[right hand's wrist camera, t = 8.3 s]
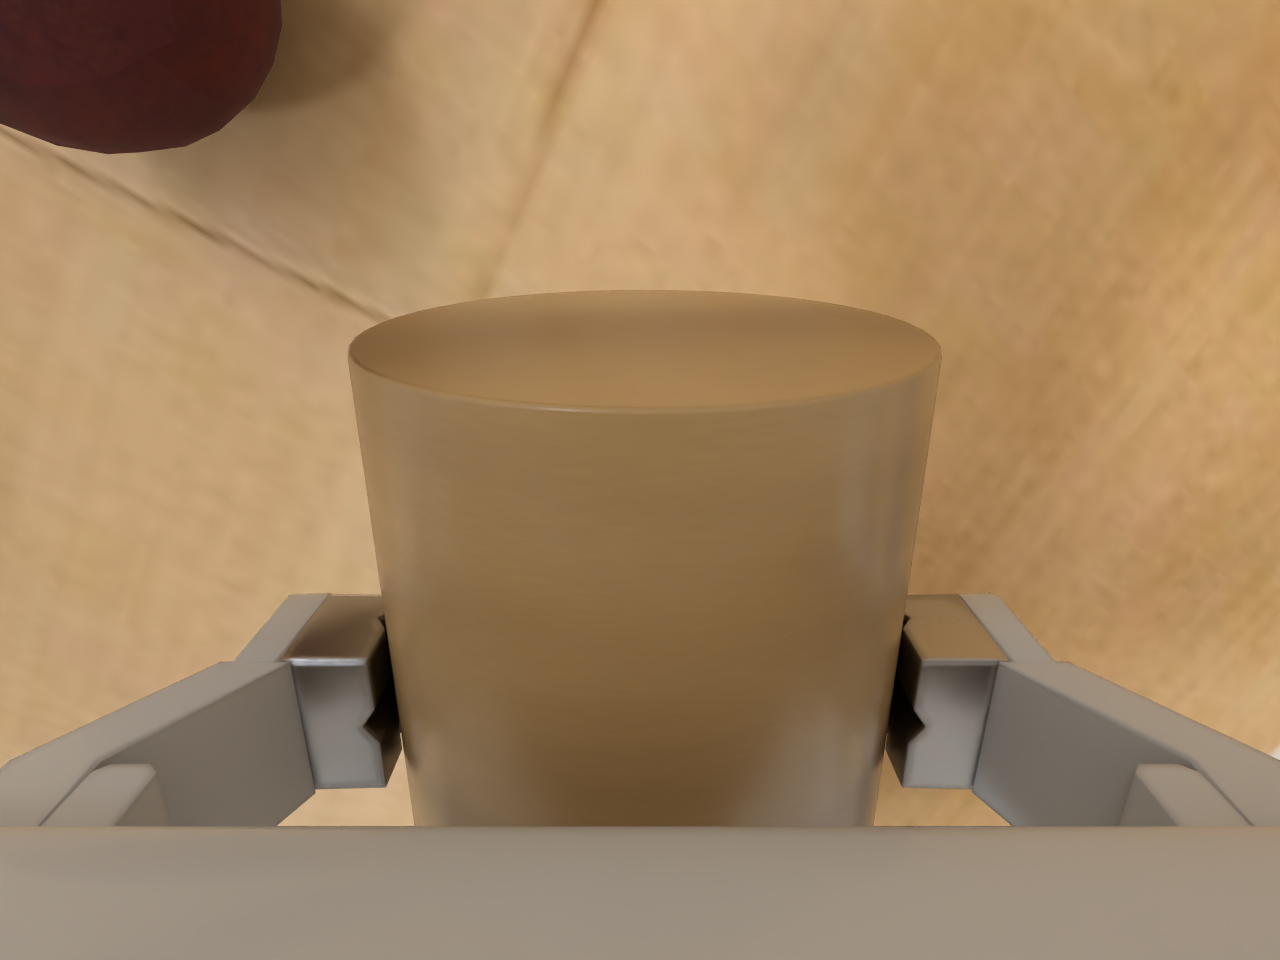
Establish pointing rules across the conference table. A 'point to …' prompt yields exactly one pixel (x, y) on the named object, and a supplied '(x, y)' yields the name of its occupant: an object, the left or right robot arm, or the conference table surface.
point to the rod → (644, 552)
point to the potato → (132, 69)
